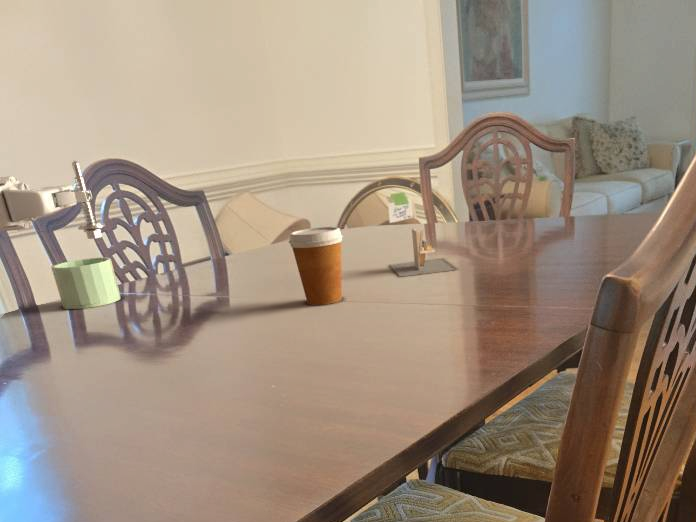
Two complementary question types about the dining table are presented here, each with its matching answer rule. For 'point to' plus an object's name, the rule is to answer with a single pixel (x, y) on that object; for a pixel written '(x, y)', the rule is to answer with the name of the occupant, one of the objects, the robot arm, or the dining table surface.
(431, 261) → the architectural model
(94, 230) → the screw
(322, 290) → the disposable coffee cup
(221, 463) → the dining table surface
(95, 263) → the green cup
